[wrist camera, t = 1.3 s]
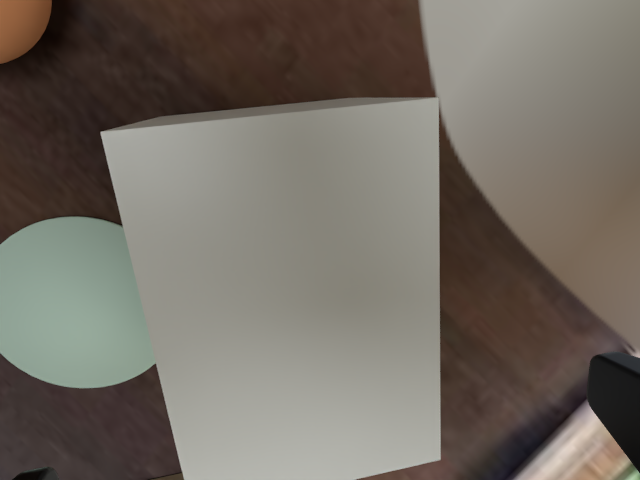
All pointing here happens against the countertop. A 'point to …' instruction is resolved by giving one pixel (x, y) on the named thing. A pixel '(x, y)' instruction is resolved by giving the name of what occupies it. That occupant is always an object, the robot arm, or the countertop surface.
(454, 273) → the countertop surface
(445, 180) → the countertop surface
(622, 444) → the robot arm
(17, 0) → the brown egg
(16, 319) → the rest disc
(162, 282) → the matte grey cube
